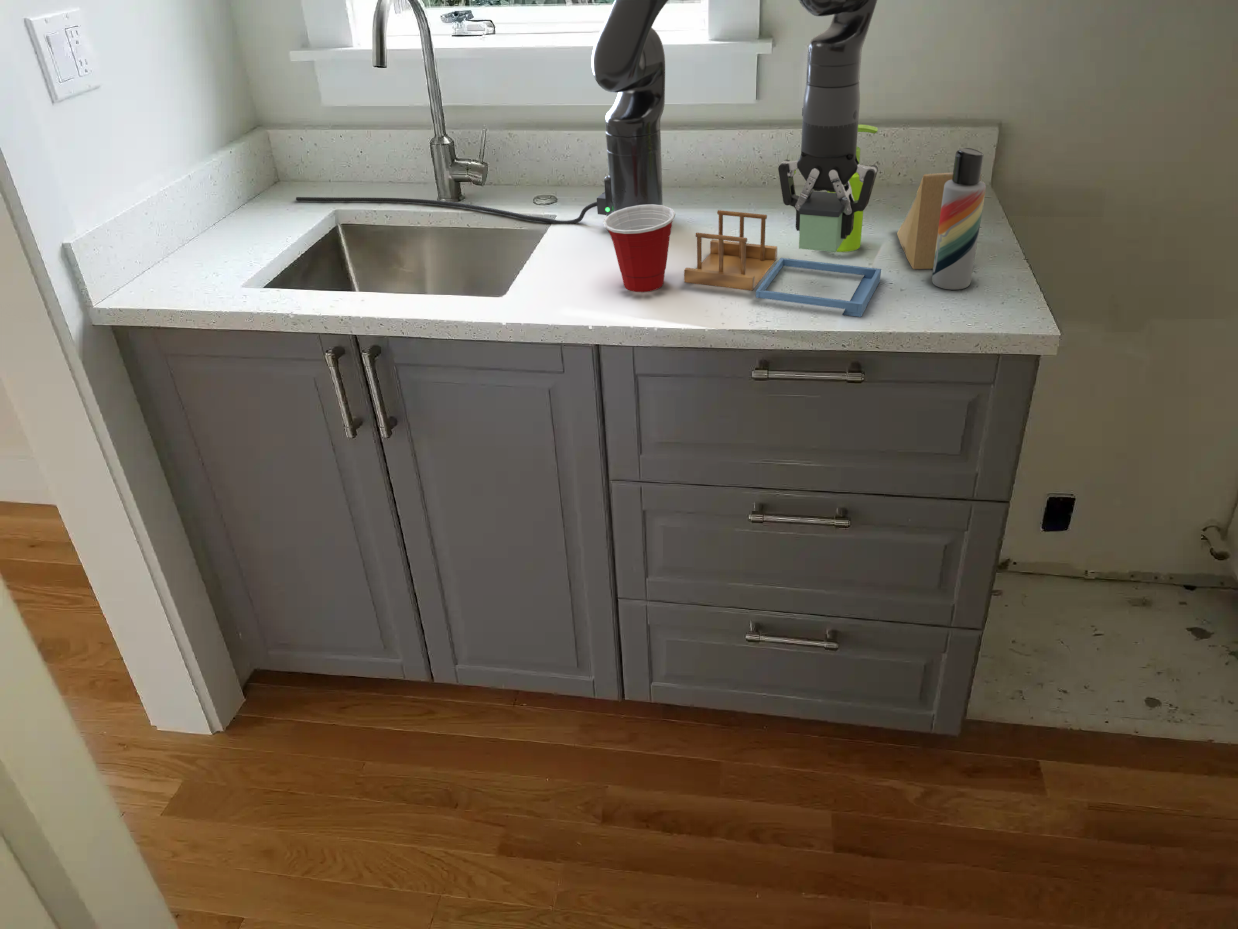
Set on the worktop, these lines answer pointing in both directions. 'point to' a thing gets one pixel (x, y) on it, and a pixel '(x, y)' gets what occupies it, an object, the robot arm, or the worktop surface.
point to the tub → (821, 222)
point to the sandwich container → (923, 221)
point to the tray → (851, 307)
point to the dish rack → (732, 257)
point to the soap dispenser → (855, 237)
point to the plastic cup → (641, 244)
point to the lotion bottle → (959, 222)
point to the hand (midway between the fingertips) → (823, 234)
